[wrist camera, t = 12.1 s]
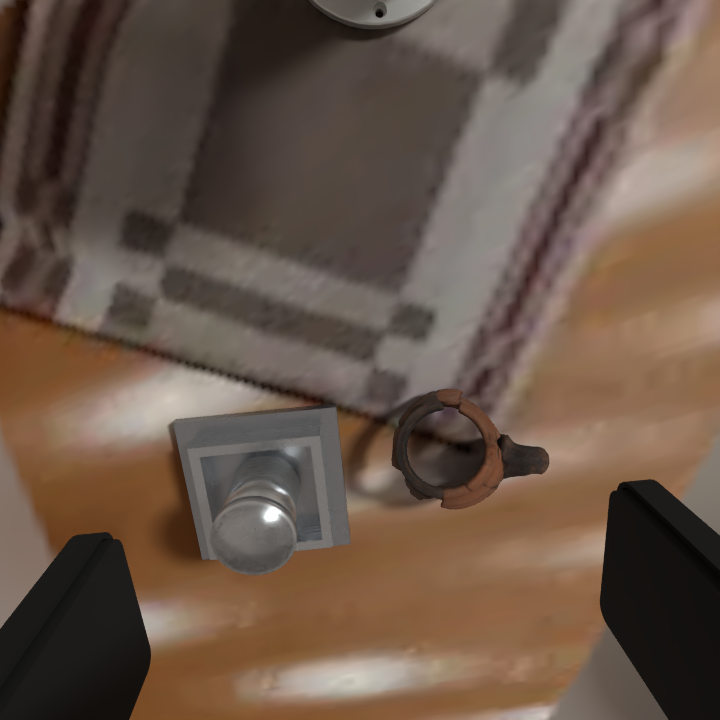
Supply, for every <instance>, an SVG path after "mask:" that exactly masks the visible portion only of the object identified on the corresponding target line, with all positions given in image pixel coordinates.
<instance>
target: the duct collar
mask: <svg viewBox="0 0 720 720" xmlns="http://www.w3.org/2000/svg"><path fill="white" fill-rule="evenodd" d="M173 425H174V429H175V434H176V439H177V443H178V448H179V453H180V457H181V462H182V467H183V472H184V476H185V481H186V486H187V490H188V495H189V500H190V504H191V509H192V514H193V519H194V523H195V528H196V533H197V537H198V542H199V547H200V551H201V556H202V560H204V559H210V560H216V559H218V558H217V557H216V556H215V554H214V552H213V550H212V547H211V543H210V532H211V528H212V525H213V523H214V520H215V518H216V516H217V514H218V513H219V511H220V510H221V509H222V507H223V505H224V502H225V499H226V497H227V494H228V491H229V489H230V486H231V483H232V481H233V478H234V475H235V473H236V471H237V470H238V468H239V467H240V466H241V465H242V464H244V463H245V462H246V461H248V460H250V459H252V458H256V457H260V456H271V457H276V458H279V459H281V460H283V461H285V462H287V463H288V464H289V465H290V466H291V467H292V468H293V469H294V470H295V471H296V473H297V475H298V478H299V481H300V493H299V501H298V509H297V517H296V526H297V540H296V546H295V550H294V551H300V550H309V549H319V548H328V547H333V546H335V545H345V544H350V532H349V522H348V513H347V503H346V494H345V485H344V475H343V466H342V456H341V447H340V438H339V428H338V419H337V409H336V404H326V405H316V406H306V407H296V408H286V409H276V410H266V411H256V412H246V413H236V414H225V415H215V416H205V417H195V418H185V419H176V420H175V422H174V423H173Z"/></svg>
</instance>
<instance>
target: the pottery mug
mask: <svg viewBox="0 0 720 720" xmlns="http://www.w3.org/2000/svg"><path fill="white" fill-rule="evenodd" d="M462 394H463V392H462V391H461V390H457V389H441V390H438V391H437V392H430V393H428V394H426V395H425V396H423V397H422V398H420V399H419V400H418V401H416V402H415V403H414V404H413V405H412V406H411V407H409V409H408V410H407V411H406V412H405V413H404V415H403V416H402V417H401V419H400V420H399V425H400V426H399V427H398V428H397V429H396V430H395V432H394V437H393V451H392V466H394V467H395V468H396V469H398V470H400V471H402V473H403V475H404V476H405V482H406V485H407V487H408V488H409V489H410V493H411V494H412V495H413V496H414V497H416V498H417V499H419V500H422V499H430V498H434V497H435V498H437V499H441V500H442V503H441V507H442V508H447V509H462V508H467V507H469V506H472V505H475V504H477V503H479V502H481V501H482V500H484V499H485V498H486V497H488V496H490V495H491V494H492V493H493V492H494V491H495V490H496V489H497V487H498V485H499V484H500V482H501V481H502V480H503V479H505V478H509V477H515V476H526V475H529V474H543V473H544V472H545V471H546V470H547V468H548V466H549V455H548V453H547V452H546V451H545V449H543V448H541V447H531V446H524V445H519V444H516V443H514V442H513V441H512V440H511V438H510V437H509V436H508V435H504V434H503V435H502V434H499V432H498V430H497V428H496V427H495V425H494V424H493V423H492V421H491V420H490V418H489V417H488V416H487V415H486V414H485V413H484V412H483V411H482V410H481V409H480V408H479V407H478V406H476V405H475V404H474V403H472V402H470V401H469V400H467V399H464V398H461V397H460V396H461V395H462ZM444 407H453V408H456V409H458V410H459V413H461V414H463V415H464V416H466V417H468V418H469V419H470V420H471V421H473V422H474V424H475V425H476V426H477V427H478V429H479V431H480V433H481V435H482V438H483V442H484V446H485V452H484V458H483V461H482V464H481V467H480V468H479V470H478V471H477V473H476V474H475V475H474V476H473V477H472V478H471V479H470V480H468V481H467V482H465V483H463V484H461V485H458V486H455V487H439V486H437V487H436V486H432V485H430V484H428V483H426V482H425V481H423V480H422V479H421V478H420V477H418V476H417V475H416V474H415V472H414V471H413V469H412V468H411V466H410V463H409V460H408V456H407V443H408V438H409V435H410V433H411V431H412V429H413V428H414V426H415V425H416V424H417V423H418V422H419V421H420V420H421V419H422V418H423V417H425V416H426V415H428V414H430V413H433V412H436V411H441V410H443V409H444ZM496 441H497V442H496Z"/></svg>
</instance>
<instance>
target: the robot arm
mask: <svg viewBox="0 0 720 720" xmlns="http://www.w3.org/2000/svg"><path fill="white" fill-rule="evenodd" d="M308 1H309V2H310V3H311V4H312V5H313V6H314V7H315V8H317V9H318V10H320V11H321V12H322V13H324V14H325V15H327V16H328V17H330V18H331V19H333V20H336V21H338V22H340V23H343V24H345V25H347V26H351V27H356V28H361V29H386V28H390V27H394V26H398V25H402V24H404V23H406V22H408V21H410V20H412V19H414V18H416V17H419V16H420V15H421V14H422V13H424V12H425V11H426V10H428V9H429V8H430V7H431V6H433V5H434V4H435V3H436V2H437V1H438V0H308ZM378 11H380V12H381V13H382V14H383V16H382V18H377V17H376V15H375V13H376V12H378ZM600 607H601V612H602V615H603V618H604V620H605V622H606V624H607V625H608V627H609V628H610V630H611V631H612V633H613V635H614V636H615V638H616V639H617V641H618V642H619V644H620V645H621V647H622V648H623V650H624V652H625V653H626V655H627V656H628V658H629V659H630V661H631V662H632V664H633V665H634V667H635V668H636V670H637V672H638V673H639V675H640V676H641V678H642V679H643V681H644V682H645V684H646V686H647V687H648V688H649V690H650V692H651V693H652V695H653V696H654V698H655V699H656V701H657V702H658V704H659V706H660V707H661V709H662V710H663V712H664V713H665V715H666V716H667V718H668V719H669V720H720V535H718V534H717V533H716V532H715V531H714V530H713V529H712V528H710V527H709V526H708V525H707V524H706V523H705V522H703V521H702V520H701V519H700V518H699V517H698V516H696V515H695V514H694V513H693V512H692V511H691V510H690V509H688V508H687V507H686V506H685V505H684V504H683V503H681V502H680V501H679V500H678V499H677V498H676V497H675V496H673V495H672V494H671V493H670V492H669V491H668V490H666V489H665V488H664V487H663V486H662V485H661V484H659V483H658V482H657V481H655V480H651V479H649V480H639V481H629V482H622V483H620V484H619V486H618V488H617V491H613V492H612V493H611V494H610V498H609V509H608V520H607V530H606V541H605V552H604V563H603V573H602V584H601V595H600ZM150 660H151V650H150V645H149V641H148V637H147V634H146V630H145V626H144V623H143V619H142V615H141V612H140V608H139V604H138V601H137V597H136V593H135V589H134V586H133V582H132V578H131V575H130V571H129V567H128V564H127V560H126V556H125V553H124V549H123V545H122V543H121V541H120V540H118V539H114V540H113V537H112V536H111V535H110V534H109V533H107V532H103V533H93V534H83V535H76V536H73V537H72V538H71V539H70V540H69V541H68V543H67V544H66V545H65V546H64V548H63V549H62V550H61V552H60V553H59V554H58V555H57V557H56V558H55V559H54V561H53V562H52V563H51V564H50V566H49V567H48V568H47V570H46V571H45V572H44V573H43V575H42V576H41V577H40V579H39V580H38V581H37V582H36V584H35V585H34V586H33V588H32V589H31V590H30V591H29V593H28V594H27V595H26V596H25V598H24V599H23V600H22V602H21V603H20V604H19V606H18V607H17V608H16V609H15V611H14V612H13V613H12V615H11V616H10V617H9V618H8V620H7V621H6V622H5V623H4V625H3V626H2V628H1V629H0V720H129V719H130V716H131V713H132V711H133V708H134V706H135V703H136V701H137V698H138V696H139V693H140V691H141V688H142V685H143V683H144V680H145V678H146V675H147V673H148V670H149V666H150Z"/></svg>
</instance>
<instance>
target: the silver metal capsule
mask: <svg viewBox="0 0 720 720" xmlns="http://www.w3.org/2000/svg"><path fill="white" fill-rule="evenodd" d="M299 493H300V481H299V478H298V475H297V473H296V471H295V470H294V469H293V468H292V467H291V466H290V465H289V464H288V463H287V462H285V461H283V460H281V459H279V458H276V457H271V456H260V457H256V458H252V459H250V460H248V461H246V462H245V463H244V464H242V465H241V466H240V467H239V468H238V470H237V471H236V473H235V475H234V478H233V481H232V483H231V486H230V489H229V491H228V494H227V497H226V499H225V502H224V505H223V507H222V509H221V510H220V511H219V513H218V514H217V516H216V518H215V520H214V523H213V525H212V528H211V532H210V543H211V547H212V550H213V552H214V554H215V556H216V557H217V558H218V560H219V561H220V562H221V563H222V564H224V565H225V566H226V567H228V568H229V569H231V570H233V571H236V572H238V573H242V574H247V575H261V574H266V573H270V572H273V571H275V570H277V569H279V568H280V567H282V566H283V565H284V564H285V563H286V562H287V561H288V560H289V559H290V558H291V556H292V554H293V552H294V550H295V546H296V540H297V526H296V517H297V509H298V501H299Z"/></svg>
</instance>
